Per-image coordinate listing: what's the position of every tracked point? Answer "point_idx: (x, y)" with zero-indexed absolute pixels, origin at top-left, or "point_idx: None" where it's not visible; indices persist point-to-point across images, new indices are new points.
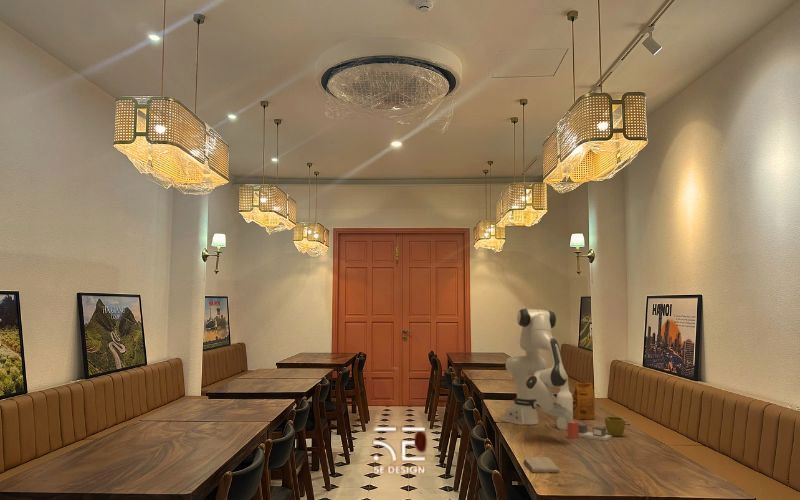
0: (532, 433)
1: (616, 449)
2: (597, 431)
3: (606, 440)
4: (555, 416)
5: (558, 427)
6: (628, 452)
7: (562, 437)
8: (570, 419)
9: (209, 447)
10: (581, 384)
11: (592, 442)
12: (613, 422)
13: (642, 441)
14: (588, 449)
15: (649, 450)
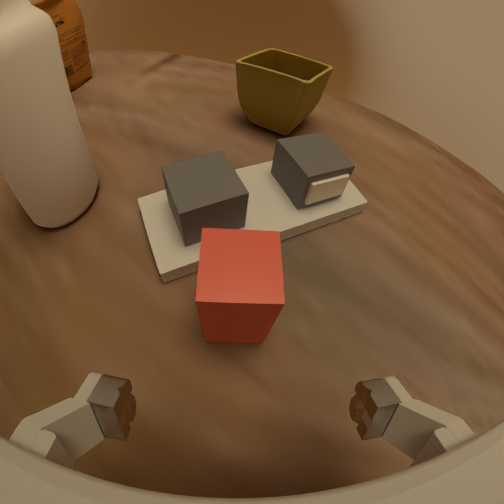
0: None
1: (476, 281)
2: (329, 186)
3: (362, 208)
4: (106, 427)
5: (43, 226)
6: (499, 273)
7: (196, 381)
8: (401, 388)
9: None
10: (43, 3)
11: (374, 291)
12: (314, 87)
13: (376, 129)
14: (469, 404)
15: (472, 198)
